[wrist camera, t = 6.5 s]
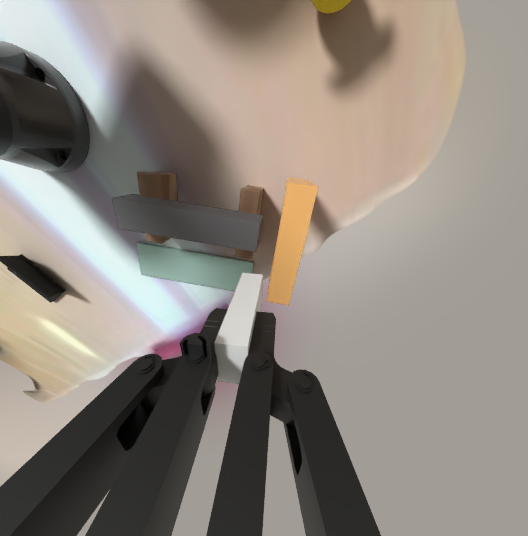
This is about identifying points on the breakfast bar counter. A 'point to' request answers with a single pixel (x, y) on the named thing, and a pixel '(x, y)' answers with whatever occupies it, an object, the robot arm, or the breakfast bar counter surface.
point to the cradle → (166, 188)
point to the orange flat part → (290, 238)
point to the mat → (191, 266)
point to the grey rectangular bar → (188, 221)
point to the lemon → (330, 5)
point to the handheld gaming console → (33, 276)
